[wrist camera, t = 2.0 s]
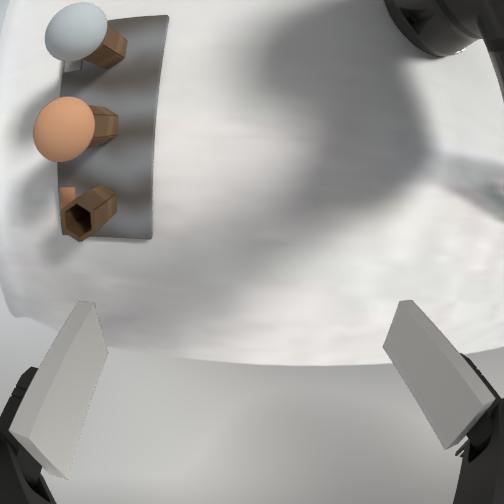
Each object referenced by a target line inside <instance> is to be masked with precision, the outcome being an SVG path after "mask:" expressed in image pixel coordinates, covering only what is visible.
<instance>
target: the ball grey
mask: <svg viewBox="0 0 504 504" xmlns="http://www.w3.org/2000/svg"><path fill="white" fill-rule="evenodd" d="M106 31H107V19H106V16H105V14H104V12H103V11H102V10H101V9H100V8H99V7H98V6H96V5H94V4H91V3H86V2H80V3H75V4H71V5H69V6H67V7H65V8H63V9H62V10H60V11H59V12H58V13H57V14H56V15H55V16H54V17H53V18H52V20H51V21H50V23H49V25H48V27H47V29H46V33H45V44H46V48H47V50H48V52H49V53H50V54H51V55H52V56H53V57H55V58H56V59H58V60H61V61H76V60H79V59H82V58H84V57H86V56H88V55H90V54H91V53H92V52H94V51H95V50H96V49H97V48H98V47H99V45H100V44H101V43H102V41H103V39H104V37H105V34H106Z"/></svg>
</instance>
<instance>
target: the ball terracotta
mask: <svg viewBox="0 0 504 504" xmlns="http://www.w3.org/2000/svg"><path fill="white" fill-rule="evenodd" d="M94 129H95V120H94V115H93V113H92V111H91V109H90V107H89V106H88V105H87V104H86V103H85V102H84V101H82V100H81V99H78V98H75V97H61V98H58V99H55V100H53V101H52V102H50V103H49V104H47V105H46V106H45V107H44V108H43V109H42V111H41V112H40V113H39V115H38V117H37V119H36V122H35V125H34V130H33V137H34V142H35V145H36V148H37V149H38V151H39V152H40V153H41V154H42V155H43V156H44V157H45V158H47V159H49V160H51V161H55V162H64V161H69V160H71V159H74V158H76V157H77V156H79V155H80V154H81V153H82V152H83V151H84V150H85V149H86V148H87V147H88V145H89V144H90V142H91V140H92V137H93V134H94Z"/></svg>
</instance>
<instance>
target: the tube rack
mask: <svg viewBox="0 0 504 504" xmlns="http://www.w3.org/2000/svg"><path fill="white" fill-rule="evenodd" d="M168 22H169V16H168V15H158V16H143V17H132V18H123V19H115V20H108V21H107V31H106V34H105V37H104V39H103V41H102V43H101V44H100V45H99V47H98V48H97V49H96V50H95V51H94V52H92V53H91V54H90V55H88V56H86V57H84V58H82V59H79V60H76V61H64V68H63V75H62V83H61V93H60V98H61V97H75V98H78V99H81V100H82V101H84V102H85V103H86V104H87V105H88V106H89V107H90V109H91V111H92V113H93V115H94V120H95V129H94V134H93V137H92V140H91V142H90V144H89V145H88V147H87V148H86V149H85V150H84V151H83V152H82V153H81V154H80V155H79V156H77V157H76V158H74V159H71V160H69V161H64V162H58V190H59V205H60V217H61V226H62V235H70V236H71V237H72V238H74V239H76V240H77V241H79V242H82V241H83V240H85V239H87V238H88V237H90V236H97V237H116V238H135V239H151V238H152V186H153V157H154V139H155V125H156V112H157V102H158V92H159V83H160V75H161V67H162V59H163V53H164V46H165V40H166V34H167V28H168Z"/></svg>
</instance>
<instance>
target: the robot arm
mask: <svg viewBox="0 0 504 504" xmlns="http://www.w3.org/2000/svg"><path fill="white" fill-rule="evenodd" d="M385 2H386V6H387V8H388V11H389V13H390V15H391V17H392V19H393V20H394V22H395V24H396V25H397V26H398V28H399V29H400V30H401V32H402V33H403V34H404V35H405V36H406V37H407V38H408V39H409V40H410V41H411V42H412V43H413V44H414V45H416V46H417V47H418V48H420V49H421V50H423V51H425V52H427V53H429V54H432V55H435V56H441V57H443V56H450V55H456V54H458V53H460V52H462V51H463V50H464V49H465V48H466V47H467V46H468V45H470V44H472V43H473V42H475V41H476V40H478V39H483V40H484V42H485V45H486V47H487V50H488V53H489V56H490V58H491V61H492V64H493V67H494V70H495V73H496V76H497V79H498V82H499V86H500V89H501V93H502V97H503V101H504V0H385ZM383 348H384V350H385V351H386V353H387V354H388V356H389V358H390V359H391V361H392V362H393V364H394V365H395V367H396V369H397V370H398V372H399V373H400V375H401V377H402V378H403V380H404V381H405V383H406V385H407V386H408V388H409V389H410V391H411V393H412V394H413V396H414V398H415V399H416V401H417V403H418V404H419V406H420V408H421V409H422V411H423V413H424V414H425V416H426V417H427V420H428V421H429V423H430V425H431V426H432V428H433V430H434V432H435V434H436V435H437V437H438V439H439V440H440V442H441V444H442V446H443V448H444V450H446V449H448V448H450V447H452V446H454V445H456V444H458V443H459V442H460V441H461V440H462V439H463V438H464V437H465V436H466V435H467V437H468V440H467V441H466V442H465V443H464V444H463V445H462V446H461V447H460V448H459V450H457V451H456V454H455V456H457V455H458V454H459V453H461V451H463V450H464V452H463V453H462V454H461V455H460V457H463V459H462V465H461V470H460V475H459V480H458V485H457V489H456V493H455V498H454V501H453V504H504V398H503V399H501V397H500V396H499V395H498V394H497V392H496V391H495V390H494V389H493V387H492V386H491V385H490V383H489V382H488V381H487V380H486V378H485V377H484V376H483V375H481V374H482V373H481V372H480V371H479V370H478V369H476V368H477V367H476V366H475V365H474V364H473V362H472V361H471V360H470V359H469V358H467V357H466V356H465V355H463V354H462V353H459V352H458V351H457V350H456V348H455V347H454V346H453V345H452V344H451V343H450V341H449V340H448V339H447V338H446V337H445V336H444V335H443V333H442V332H441V331H440V330H439V329H438V328H437V327H436V326H435V324H434V323H433V322H432V321H431V320H430V319H429V318H428V317H427V316H426V314H425V313H424V312H423V311H422V310H421V309H420V308H419V307H418V306H417V305H416V304H415V303H414V302H413V300H406V301H399V304H398V307H397V310H396V313H395V316H394V318H393V321H392V324H391V327H390V329H389V332H388V335H387V337H386V340H385V342H384V345H383ZM107 355H108V351H107V347H106V344H105V340H104V337H103V333H102V329H101V326H100V322H99V318H98V314H97V310H96V306H95V302H81V301H79V302H78V303H77V305H76V306H75V308H74V310H73V311H72V313H71V314H70V316H69V317H68V319H67V321H66V322H65V324H64V325H63V327H62V329H61V330H60V332H59V334H58V336H57V337H56V339H55V341H54V342H53V344H52V346H51V347H50V349H49V351H48V353H47V354H46V356H45V358H44V360H43V361H42V363H41V365H40V367H39V368H35V367H30V368H29V369H28V370H27V371H26V372H25V373H23V374H22V375H21V377H20V379H19V381H18V383H17V385H16V388H14V390H13V392H12V396H11V397H10V398H9V400H8V402H7V404H6V406H5V408H4V410H3V412H2V414H1V416H0V504H56V502H55V500H54V498H53V496H52V494H51V492H50V490H49V488H48V486H47V484H46V482H45V480H44V478H43V476H42V475H41V473H40V472H41V469H42V467H43V468H44V469H45V470H46V471H47V472H48V473H49V474H51V475H54V476H57V477H60V478H64V479H67V480H69V476H70V472H71V468H72V464H73V460H74V456H75V453H76V449H77V445H78V442H79V438H80V435H81V431H82V428H83V425H84V421H85V418H86V415H87V411H88V409H89V405H90V402H91V399H92V396H93V394H94V390H95V388H96V384H97V382H98V379H99V376H100V374H101V371H102V368H103V365H104V362H105V360H106V357H107Z"/></svg>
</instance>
